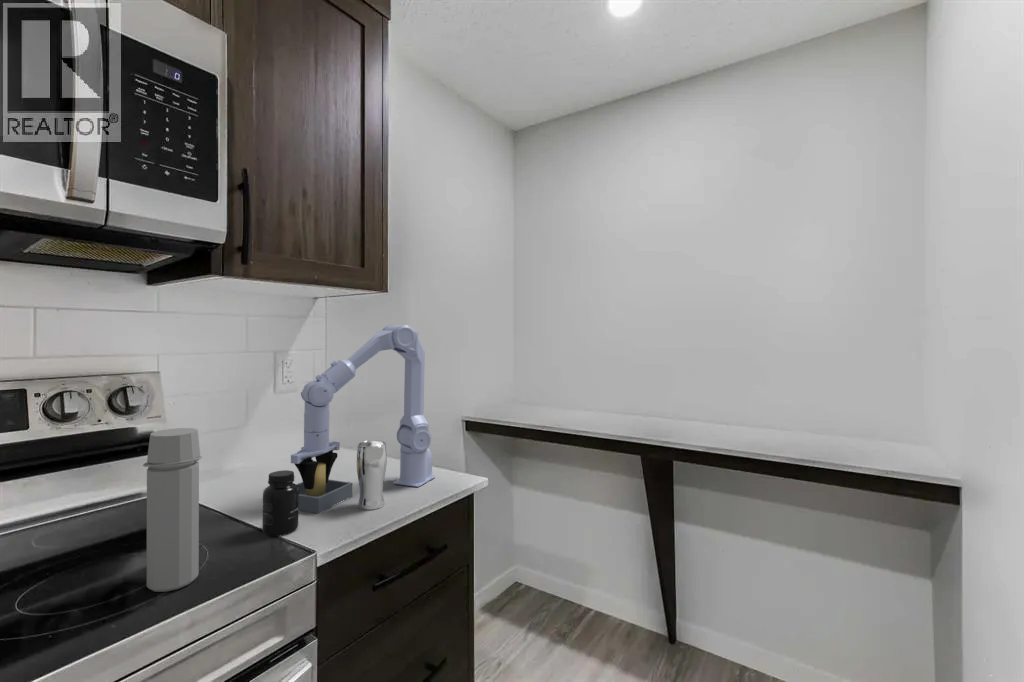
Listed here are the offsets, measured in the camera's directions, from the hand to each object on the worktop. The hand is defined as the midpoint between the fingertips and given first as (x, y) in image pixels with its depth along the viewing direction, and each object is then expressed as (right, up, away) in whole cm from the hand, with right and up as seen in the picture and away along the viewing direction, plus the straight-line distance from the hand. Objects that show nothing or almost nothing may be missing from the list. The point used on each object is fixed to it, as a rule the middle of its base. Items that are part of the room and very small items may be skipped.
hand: (316, 485), depth 116 cm
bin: (0, -4, 0) cm, 4 cm away
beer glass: (+14, -4, -2) cm, 15 cm away
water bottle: (-9, -5, -37) cm, 38 cm away
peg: (0, -2, 0) cm, 2 cm away
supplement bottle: (-1, -5, -17) cm, 17 cm away
